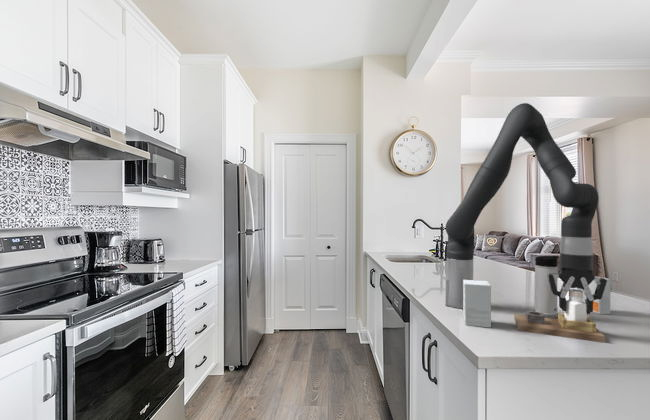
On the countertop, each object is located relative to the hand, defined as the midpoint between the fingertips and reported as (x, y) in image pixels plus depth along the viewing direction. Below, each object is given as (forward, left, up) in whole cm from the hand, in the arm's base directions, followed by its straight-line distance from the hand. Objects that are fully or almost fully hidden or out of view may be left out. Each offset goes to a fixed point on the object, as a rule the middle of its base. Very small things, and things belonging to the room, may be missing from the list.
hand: (575, 311), depth 96 cm
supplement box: (-26, -4, -6) cm, 27 cm away
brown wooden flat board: (-5, 0, -6) cm, 8 cm away
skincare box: (+12, +29, -6) cm, 32 cm away
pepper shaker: (0, 0, -4) cm, 4 cm away
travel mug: (-5, +15, -6) cm, 17 cm away
